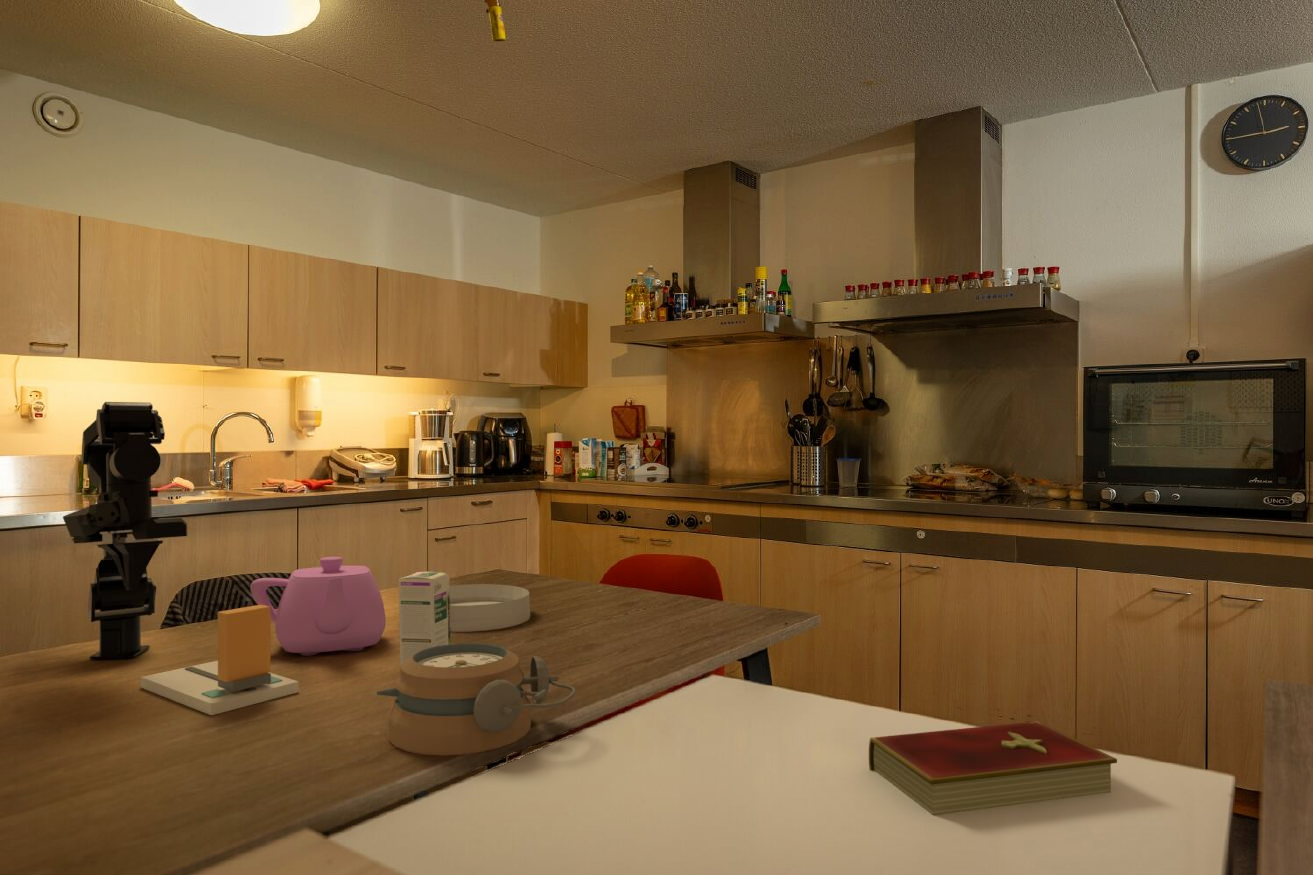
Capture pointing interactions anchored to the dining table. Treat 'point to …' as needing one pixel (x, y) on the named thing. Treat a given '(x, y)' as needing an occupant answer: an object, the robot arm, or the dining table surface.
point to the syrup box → (423, 612)
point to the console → (213, 689)
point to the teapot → (325, 608)
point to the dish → (487, 607)
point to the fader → (244, 647)
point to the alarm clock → (465, 699)
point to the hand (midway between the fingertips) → (131, 589)
